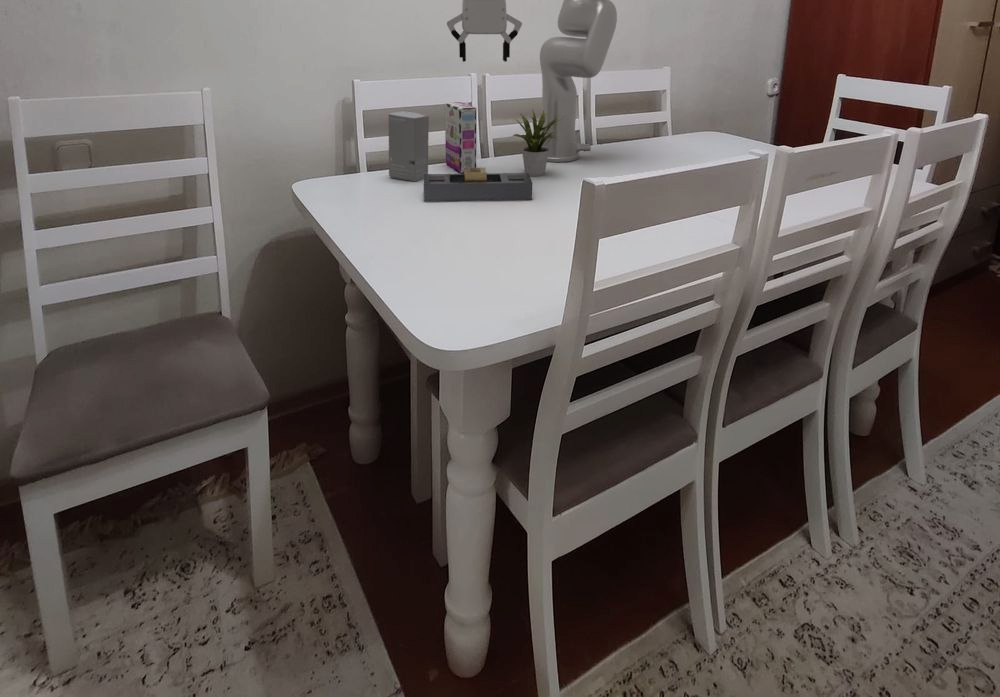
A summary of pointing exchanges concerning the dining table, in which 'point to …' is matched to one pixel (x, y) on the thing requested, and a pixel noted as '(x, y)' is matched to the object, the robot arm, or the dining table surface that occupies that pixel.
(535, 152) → the house plant
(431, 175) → the grey slotted block
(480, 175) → the brass block
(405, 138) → the skincare box
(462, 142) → the candy bar box
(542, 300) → the dining table surface
